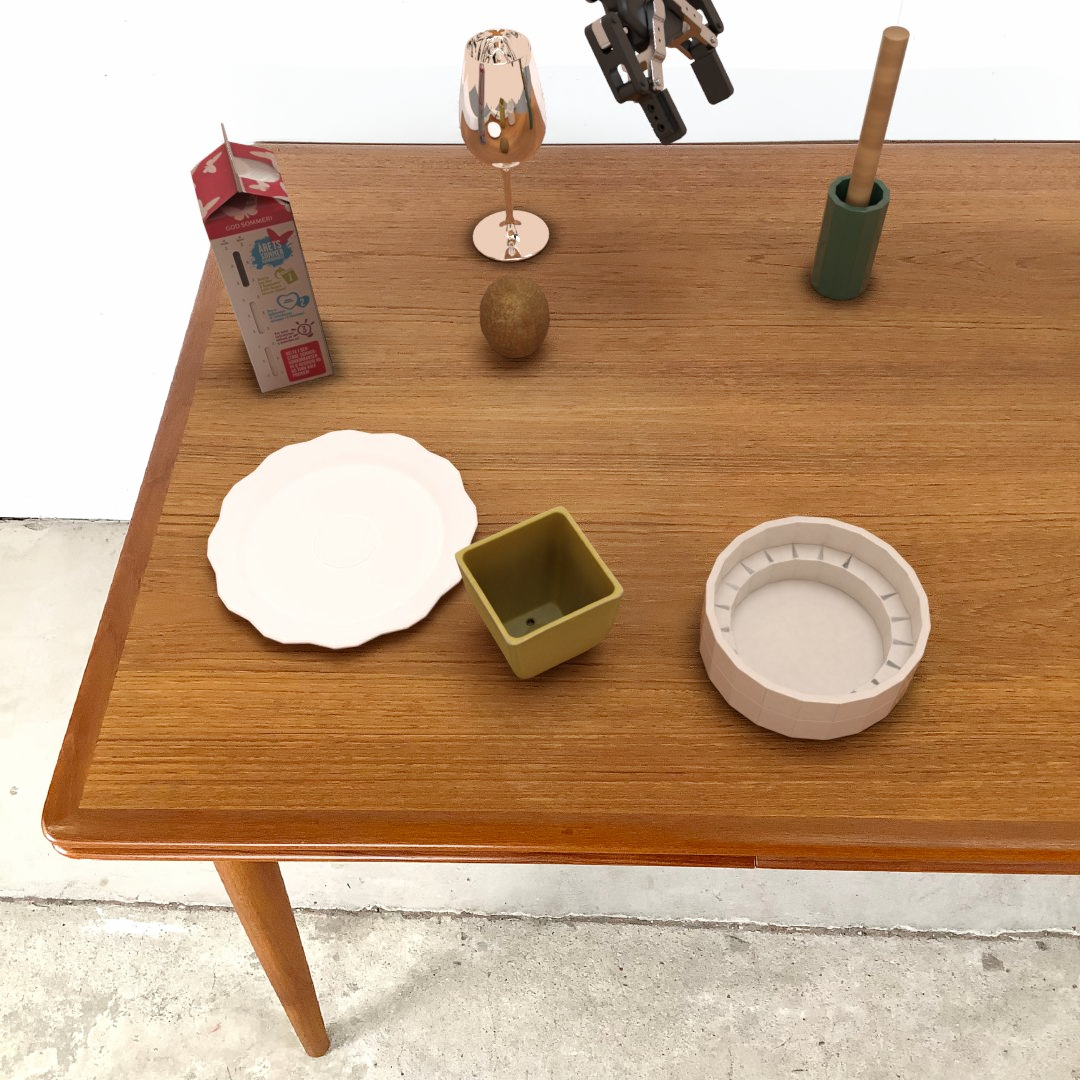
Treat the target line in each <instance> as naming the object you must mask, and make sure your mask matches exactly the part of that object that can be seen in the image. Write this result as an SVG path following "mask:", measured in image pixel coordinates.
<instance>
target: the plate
mask: <svg viewBox="0 0 1080 1080" xmlns="http://www.w3.org/2000/svg"><path fill="white" fill-rule="evenodd" d="M219 512H220V513H219V517H218V518H219V519H218V520H217V522H216V524H215V525H214V527H213V529H212V531H211V533H210V535H209V537H208V539H207V551H206V552H207V553H206V556H207V559H208V561H209V563H210V565H211V567H212V569H213V571H214V573H215V581H216V589H217V590H216V591H217V595H218V597H219V598H220V600H221V601H222V602H223V604H224V606H225V607H226V608H227V610H228V611H229V612H231V613H232V614H235V615H237V616H239V617H241V618H243V619H245V620H247V621H248V622H249V623H251V624H252V626H253V627H254V628H255V629H256V630H257V631H258V632H259V633H260V634H261V635H262V636H263V637H264V638H266V639H270V640H272V641H274V642H277V643H280V644H283V645H298V644H299V645H302V644H303V645H304V644H308V645H309V644H310V645H314V646H319V647H323V648H328V649H331V650H341V649H347V648H348V649H349V648H356V647H360V646H361V645H364V644H365V643H366V644H367V642H369V641H371V640H374V639H375V638H378V637H380V636H382V635H387V634H391V633H395V632H399V631H403V630H408V629H410V628H411V627H413V626H414V625H416V624H417V623H419V622H420V621H422V620H424V619H425V618H427V617H428V615H429V614H430V613H431V611H432V610H433V608H434V607H435V606H436V604H437V603H438V602H439V600H440V599H441V598H442V597H443V596H444V595H446V594H447V593H448V592H449V591H451V590H452V589H453V588H454V587H456V586H457V585H458V584H459V583H461V581H462V580H463V579H462V576H461V573H460V570H459V567H458V564H457V562H456V559H455V553H456V552H458V551H459V550H461V549H463V548H465V547H467V546H469V545H471V544H472V541H473V538H474V536H475V533H476V531H477V529H478V525H479V523H478V514H477V506H476V505H475V504H474V502H473V500H472V499H471V498H470V496H469V494H468V493H467V492H466V490H465V486H464V484H463V480H462V476H461V472H460V471H459V470H458V468H456V467H455V466H454V465H453V463H452V462H451V461H450V460H449V459H447V458H444V457H442V456H440V455H438V454H435V453H433V452H432V451H429V450H428V449H427V448H425V447H424V446H423V445H421V444H420V443H419V442H418V441H416V439H414V438H412V437H409V436H405V435H402V434H399V433H396V432H394V433H393V432H389V433H388V432H387V433H385V432H384V433H371V432H365V431H360V430H354V429H344V430H335V431H329V432H327V433H325V434H323V435H320V436H318V437H315V438H313V439H311V440H308V441H303V442H298V443H294V444H289V445H284V446H283V447H282V448H280V449H278V450H276V451H274V452H272V453H270V454H268V455H267V456H266V457H265V458H264V460H263V461H262V462H261V463H260V464H259V465H258V466H257V468H256V469H254V471H252V472H251V473H249V474H248V475H247V476H244V477H243V478H242V479H241V480H239V481H238V482H236V483H234V484H233V486H232V487H231V489H230V490H229V491H228V492H227V494H226V496H224V498H223V499H222V503H221V508H220V511H219Z"/></svg>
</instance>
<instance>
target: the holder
mask: <svg viewBox="0 0 1080 1080" xmlns="http://www.w3.org/2000/svg"><path fill="white" fill-rule="evenodd" d="M850 178H851V173H848V174H842V175H840V176H837V177H836V178H834V180H832V181H831V182H830V183H829V184H828V188H827V194H826V198H825V203H824V209H823V214H822V217H821V218H822V219H821V223H820V228H819V233H818V238H817V242H816V243H817V244H816V247H815V252H814V257H813V261H812V266H811V274H810V285H811V287H813V289H814V291H816V292H817V293H818V294H820V295H821V296H823V297H824V298H828V299H831V300H835V301H847V300H852V299H855V298H857V297H859V296H861V295H863V293H864V292H865V291H866V289H867V286H868V285H869V282H870V279H871V275H872V274H871V273H872V270H873V266H874V262H875V258H876V254H877V251H878V247H879V243H880V240H881V237H882V232H883V229H884V225H885V220H886V216H887V212H888V208H889V205H890V201H891V189H890V188H889V187H888V186H887V184H886V183H885V182H884V181H883V180H882V179H880V178H877V177H875V180H874V184H873V188H872V192H871V196H870V201H869V205H868V207H865V208H863V207H853V206H850V205H848V204H846V203H845V200H846V196H847V191H848V187H849V182H850Z"/></svg>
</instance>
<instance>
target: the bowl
mask: <svg viewBox="0 0 1080 1080" xmlns="http://www.w3.org/2000/svg"><path fill="white" fill-rule="evenodd" d="M699 622H700V623H699V653H700V655H701V659H702V662H703V665H704V668H705V671H706V673H707V676H708V679H709V680H710V681H711V683H712V684H713V686H714V687H715V688H716V690H717V691H718V692H719V693H720V695H721V696H722V697H723V699H724V700H725V701H726V703H727V704H728V705H729V706H730V707H732V708H733V709H734V710H735V711H737V712H738V713H739V714H741V715H743V717H745V718H747V719H748V720H749V721H751V722H752V723H753V724H755V725H757V726H759V727H762V728H764V729H767V730H770V731H772V732H775V733H778V734H781V735H784V736H786V737H789V738H795V739H807V740H808V739H809V740H820V741H827V740H833V739H838V738H842V737H846V736H851V735H855V734H859V733H861V732H863V731H864V730H866V729H868V728H869V727H871V726H873V725H874V724H876V723H878V722H880V721H881V720H883V719H884V718H886V717H888V716H889V714H890V713H891V712H892V710H893V709H894V708H895V706H896V705H898V703H899V702H900V700H901V699H902V698H903V696H905V693H906V692H907V690H908V688H909V686H910V683H911V682H912V680H913V677H914V675H915V673H916V671H917V669H918V667H919V665H920V663H921V660H922V659H923V658H924V657H923V656H924V654H925V650H926V647H927V644H928V640H929V636H930V632H931V629H932V625H931V615H930V606H929V598H928V595H927V594H926V591H925V589H924V587H923V585H922V583H921V581H920V579H919V577H918V575H917V573H916V571H915V569H914V568H913V567H912V566H911V564H910V563H908V562H907V561H906V560H905V558H904V557H903V556H902V555H900V553H899V552H898V551H897V550H896V549H895V548H894V547H893V546H892V545H891V544H889V543H888V542H886V541H885V540H883V539H881V538H879V537H878V536H876V535H874V534H873V533H871V532H870V531H868V530H866V529H865V528H862V527H860V526H858V525H854V524H850V523H848V522H845V521H841V520H838V519H835V518H831V517H823V516H822V517H821V516H809V515H808V516H806V515H793V516H788V517H783V518H778V519H772V520H768V521H763V522H762V523H759V524H758V525H756V526H754V527H752V528H750V529H748V530H746V531H744V532H743V533H740V534H738V535H737V536H736V537H735V538H734V539H733V540H732V541H731V542H730V543H729V544H728V545H727V546H726V547H725V548H724V549H723V550H722V552H720V553H719V555H718V556H716V559H715V561H714V563H713V566H712V567H711V571H710V573H709V575H708V578H707V580H706V583H705V589H704V594H703V601H702V609H701V615H700V621H699Z"/></svg>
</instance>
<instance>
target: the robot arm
mask: <svg viewBox="0 0 1080 1080" xmlns="http://www.w3.org/2000/svg"><path fill="white" fill-rule="evenodd" d="M584 1H585V2H586V3H588V4H594V3H597V2H598V1H599V2H600V3H601V5H602V7H603V10H604V15H602V16H601V17H599V18H597V19H596V20H594V21H592V22H591V23H590V24H588V25H586V26H585V27H584V30H583V31H584V32H583V33H584V36H585V38H586V40H587V43H588V44H589V47H590V49H591V51H592V53H593V55H594V57H595V59H596V62H597V64H598V66H599V68H600V70H601V72H602V75H603V76H604V78H605V79H604V80H606V84H607V85H608V87H609V90H610V91H611V93H612V96H613V98H614V99H615V101H616V102H617V103H618V104H619V105H623V104H625V103H626V102H633V103H634V104H638V105H639V106H640V107H641V109H642V111H643V113H644V115H645V117H646V119H647V122H648V123H649V125H650V126H651V129H652V131H653V132H654V135H655V136H656V138H657V139H658V141H659V142H660V144H662V145H664V146H668V145H670V144H673V143H675V142H677V141H680V140H681V139H682V138H683V137H685V136H686V135H687V133H688V129H687V126H686V124H685V121H684V120H683V118H682V116H681V114H680V112H679V109H678V107H677V106H676V104H675V102H674V100H673V98H672V96H671V94H670V92H669V89H668V88H667V87H666V88H665V82H664V72H663V62H664V61H665V60H666V58H667V48H668V49H677V50H678V52H680V53H681V54H683V56H684V57H686V58H687V59H688V60H690V61H692V62H691V63H690V67H691V69H692V71H693V73H694V75H695V77H696V80H697V82H698V84H699V86H700V88H701V89H702V92H703V94H704V97H705V98H706V101H707V103H708V104H710V105H712V106H715V105H717V104H719V103H722V102H723V101H725V100H728V99H729V98H730V97H731V96H733V94H734V92H735V87H734V86H733V83H732V81H731V79H730V77H729V75H728V73H727V71H726V68H725V66H724V65H723V62H722V60H721V58H720V56H719V54H718V51H717V49H716V48H718V46H719V42H718V36H719V35H720V34H722V33H723V32H724V31H725V25H724V23H723V21H722V19H721V17H720V15H719V13H718V11H717V9H716V7H715V4H714V3H713V1H712V0H584ZM699 11H701V12H702V14H703V15H702V14H701V12H699ZM703 18H705V20H706V22H707V23H703ZM636 53H637V54H636ZM693 60H694V61H693ZM619 66H620V67H621V70H622V71H623V72H624V73H626V74H627V81H626V82H624V81H623V78H622V76H621V74H620V72H619V68H618V67H619ZM645 71H647V76H646V75H645Z"/></svg>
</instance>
